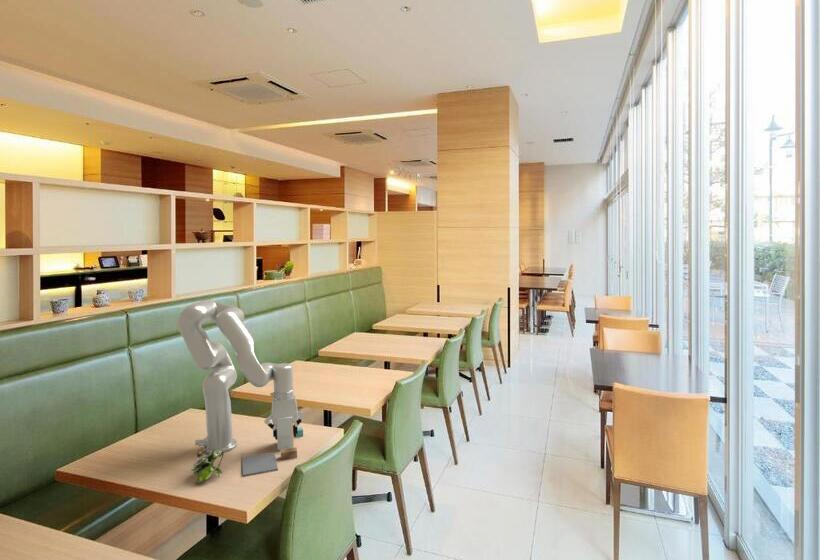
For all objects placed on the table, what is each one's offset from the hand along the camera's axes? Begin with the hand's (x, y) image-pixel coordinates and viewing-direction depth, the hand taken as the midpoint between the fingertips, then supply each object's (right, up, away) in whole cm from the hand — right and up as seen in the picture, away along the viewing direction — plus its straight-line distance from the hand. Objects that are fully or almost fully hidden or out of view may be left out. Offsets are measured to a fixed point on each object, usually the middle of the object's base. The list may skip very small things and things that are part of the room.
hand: (285, 436), depth 192 cm
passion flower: (-21, -7, -24) cm, 32 cm away
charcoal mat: (-6, -5, -16) cm, 17 cm away
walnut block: (+4, -5, -10) cm, 12 cm away
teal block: (+2, -3, +10) cm, 10 cm away
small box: (0, -4, 0) cm, 4 cm away
